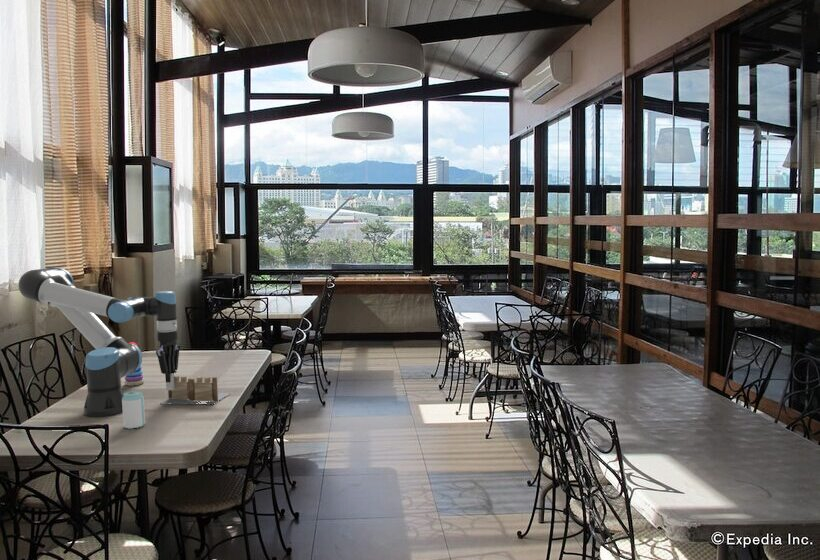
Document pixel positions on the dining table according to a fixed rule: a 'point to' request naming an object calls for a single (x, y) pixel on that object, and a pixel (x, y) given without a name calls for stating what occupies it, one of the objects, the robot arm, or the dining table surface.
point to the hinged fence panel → (179, 389)
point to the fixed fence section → (203, 389)
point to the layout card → (185, 401)
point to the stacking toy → (134, 375)
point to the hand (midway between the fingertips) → (170, 389)
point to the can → (133, 410)
